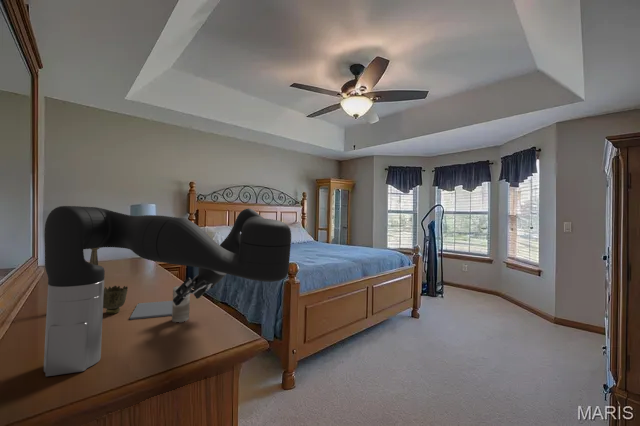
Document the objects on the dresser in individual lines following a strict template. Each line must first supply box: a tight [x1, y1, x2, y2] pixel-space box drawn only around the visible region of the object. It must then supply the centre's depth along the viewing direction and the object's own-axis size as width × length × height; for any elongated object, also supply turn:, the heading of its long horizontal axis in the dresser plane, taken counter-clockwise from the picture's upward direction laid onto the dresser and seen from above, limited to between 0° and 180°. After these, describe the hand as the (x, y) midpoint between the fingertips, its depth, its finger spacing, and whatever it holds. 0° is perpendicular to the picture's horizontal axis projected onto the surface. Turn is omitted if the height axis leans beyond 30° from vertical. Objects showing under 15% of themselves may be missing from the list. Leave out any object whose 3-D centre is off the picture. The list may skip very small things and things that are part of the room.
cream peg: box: [171, 285, 191, 323], centre depth 90 cm, size 5×5×10 cm
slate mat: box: [129, 300, 173, 321], centre depth 100 cm, size 16×16×1 cm
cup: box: [103, 285, 128, 315], centre depth 95 cm, size 8×7×8 cm
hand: (186, 299), depth 91 cm, fingers open, 8 cm apart
